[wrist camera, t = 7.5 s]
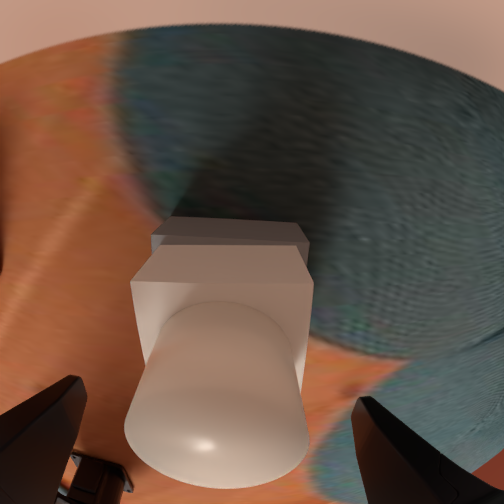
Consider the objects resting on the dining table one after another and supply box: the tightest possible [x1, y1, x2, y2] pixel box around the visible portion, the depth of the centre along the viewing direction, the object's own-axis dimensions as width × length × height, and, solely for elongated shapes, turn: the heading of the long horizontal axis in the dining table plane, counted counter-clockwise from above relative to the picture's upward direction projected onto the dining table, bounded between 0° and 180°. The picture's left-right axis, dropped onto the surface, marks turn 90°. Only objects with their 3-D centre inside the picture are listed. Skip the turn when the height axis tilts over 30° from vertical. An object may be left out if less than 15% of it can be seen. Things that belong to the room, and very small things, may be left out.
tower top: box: [130, 245, 314, 393], centre depth 13 cm, size 6×6×4 cm
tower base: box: [151, 216, 310, 268], centre depth 17 cm, size 7×7×4 cm
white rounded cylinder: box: [124, 302, 309, 489], centre depth 9 cm, size 5×5×4 cm
